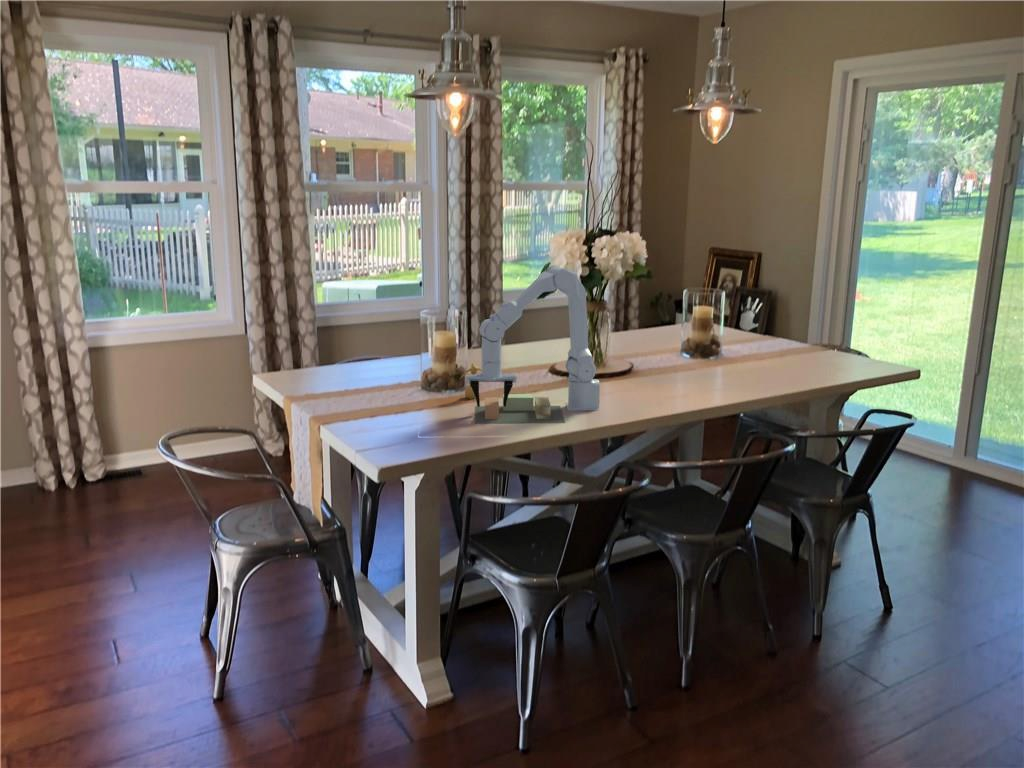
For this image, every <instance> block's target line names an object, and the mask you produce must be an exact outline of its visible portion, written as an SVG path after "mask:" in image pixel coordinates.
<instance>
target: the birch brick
mask: <svg viewBox="0 0 1024 768" xmlns="http://www.w3.org/2000/svg"><path fill="white" fill-rule="evenodd" d="M534 406H535V413H536V418H537V419H549V418H550V410H551V406H552V405H551V401H550V399H549V396H535V397H534Z"/></svg>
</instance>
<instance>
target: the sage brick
mask: <svg viewBox="0 0 1024 768" xmlns="http://www.w3.org/2000/svg"><path fill="white" fill-rule="evenodd" d="M503 399H504V393H502V400H503ZM533 406H534V395H533V393H531V394H530V393H528V394H527V393H526V394H525V393H517V394H516V393H514V394H513V393H509V395H508V398H507V402H506V407H503V411H530V410H533Z"/></svg>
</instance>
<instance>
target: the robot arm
mask: <svg viewBox="0 0 1024 768" xmlns="http://www.w3.org/2000/svg"><path fill="white" fill-rule="evenodd" d="M556 289H558V290H559V291H560V292H561V293H563V294H564V295H565V296H566V297H567V302H568V320H569V338H570V340H569V341H570V349H569V350H568V352H567V360H566V362H565V369H566V371H567V372H568V373H569V375H568V395H567V396H568V397H567V398H568V401H567V402H565V406H566V408H567V410H568V411H600V401H601V400H600V396H601V395H600V391H601V389H600V386H601V385H600V380H599V379H595V378H594V377H595V375H596V373H597V368H596V364H595V363H594V358H593V355H592V353H591V351H590V349H589V335H588V333H589V331H588V312H587V311H588V310H587V291H586V288H585V286H584V285H583V284H582V282H581V280H580V279H579V276H578V273H576V272H575V271H573V270H571V269H570V268H565V267H561V266H559V265H554V264H553V265H550V266H548V267H547V268H546V270H544V271H543V272H541V273H540V274H539V275H538V276H537V278H536V279H535V280H534V281H533V282H532V283H531V284H529V286H528V287H527V288H526V289H524V291H523V292H522V293H521V294H520V295H519V296H518V297H517V298H516V299H515V300H508V301H507V302H505V301H504V302H503V303H502V304H501V307H500V308H499V309H498V310H497V311H496V312H495V313H494V314H490V315H489V318H488V319H486V318H485V320H483V321H482V322H481V323H480V326H479V327H478V333H479V334H480V336H481V369H482V371H481V373H476V374H473V375H471V374H466V383H468V384H469V383H470V384H469V386H471V388H472V390H473V392H474V395H475V398H474V399H475V400H476V406H477V407H480V406H481V403H480V402H481V400H480V383H503V394H504V399H503V398H502V406H503V407H506V402H507V398H508V395H509V394H510V392H511V390H512V389H513V385H514V384H515V383H517V374H511V373H510V374H508V373H502V339H503V337H504V336H505V331H507V330H508V329H509V328H510V327H511V326H512V325H513V324H515V322H516V321H518V319H519V318H521V317H522V316H523V311H524V309H525V308H526V307H527V306H529V305H530V304H531V303H532V302H533V301H535V300H536V299H537V298H539V296H540V295H542V294H543V293H546V292H547V293H548V292H549V293H550V292H555V291H556ZM593 378H594V379H593ZM513 383H514V384H513Z"/></svg>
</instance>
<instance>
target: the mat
mask: <svg viewBox="0 0 1024 768" xmlns="http://www.w3.org/2000/svg"><path fill="white" fill-rule="evenodd" d="M565 423H566V419H565V417H564V414H563V411H562V407H561V405H551V410H550V418H549V419H537V418H536V413H535V405H533V410H530V411H503V405H499V419H485V405H484V406H482V405H480V407H477V405H476V406H474V424H475V425H483V424H484V425H485V424H487V425H491V424H492V425H493V424H496V425H498V424H503V425H504V424H565Z"/></svg>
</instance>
